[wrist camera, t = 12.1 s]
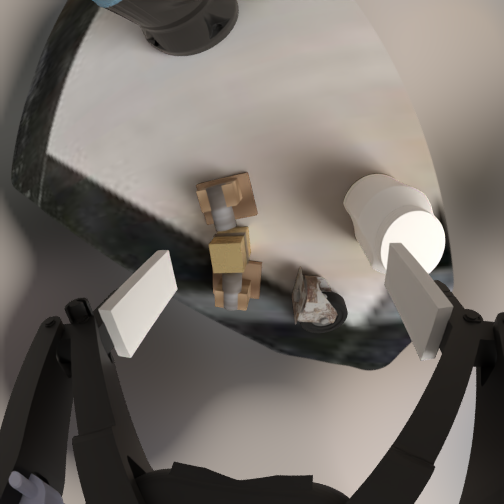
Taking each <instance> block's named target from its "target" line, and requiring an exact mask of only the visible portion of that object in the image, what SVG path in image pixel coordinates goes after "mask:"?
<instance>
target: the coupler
mask: <svg viewBox="0 0 504 504" xmlns="http://www.w3.org/2000/svg"><path fill="white" fill-rule="evenodd" d="M209 249H210V255H211V261H212V267H213V273H244V271H245V268H246V265H247V264H248V262H249V257H250V254H251V249H250V239H249V230H248V227H234V228H232V229H229V230H225V231H218V233H217V234H215V235H214V238H213V239H212V241H211V242H210V243H209Z"/></svg>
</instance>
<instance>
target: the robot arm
mask: <svg viewBox="0 0 504 504" xmlns="http://www.w3.org/2000/svg"><path fill="white" fill-rule="evenodd" d="M92 1H94V2H96V4H97V5H99V6H100V7H103V8H105V9H108V10H110V11H112V12H114V13H116V14H118V15H120V16H122V17H124V18H126V19H128V20H130V21H132V22H134V23H136V24H138V25H140V27H141V29H142V31H143V33H144V35H145V37H146V39H147V40H148V42H149V43H150V44H151V45H152V46H154V47H155V48H157V49H158V50H160V51H162V52H164V53H166V54H170V55H174V56H188V55H194V54H197V53H201V52H203V51H206V50H208V49H210V48H212V47H213V46H215V45H217V44H218V43H219V42H221V41H222V40H223V39H224V38H225V37H226V36H227V35H228V34H229V33H230V31H231V30H232V29H233V27H234V25H235V23H236V21H237V18H238V11H239V9H238V3H237V0H92ZM385 287H386V289H387V291H388V293H389V295H390V297H391V299H392V301H393V303H394V305H395V307H396V309H397V311H398V313H399V315H400V317H401V319H402V321H403V323H404V325H405V327H406V329H407V331H408V333H409V336H410V338H411V340H412V342H413V344H414V347H415V349H416V351H417V354H418V356H419V358H420V360H421V361H422V360H428V359H433V358H435V357H436V355H437V352H438V349H439V348H440V350H441V352H442V355H441V358H440V360H439V362H438V364H437V367H436V369H435V371H434V373H433V375H432V377H431V380H430V381H429V384H428V385H427V387H426V389H425V391H424V393H423V395H422V397H421V399H420V401H419V403H418V404H417V406H416V408H415V410H414V411H413V413H412V415H411V416H410V418H409V420H408V422H407V423H406V425H405V426H404V428H403V430H402V431H401V433H400V434H399V436H398V437H397V439H396V440H395V442H394V443H393V445H392V446H391V448H390V449H389V450H388V452H387V453H386V454H385V456H384V457H383V459H382V460H381V461H380V463H379V464H378V465H377V467H376V468H375V469H374V470H373V472H372V473H371V474H370V476H369V477H368V478H367V479H366V480H365V482H364V483H363V484H362V485H361V486H360V487H359V489H358V490H357V491H356V492H355V493H354V494H353V495H352V497H351V498H350V499H349V498H348V497H347V496H346V495H344V494H343V493H341V492H340V491H338V490H336V489H333V488H331V487H329V486H326V485H323V484H319V483H314V482H312V481H313V475H306V476H283V475H282V476H281V475H280V476H279V475H276V476H270V477H263V478H256V479H249V480H236V479H233V478H230V477H227V476H224V475H221V474H219V473H217V472H214V471H211V470H209V469H207V468H203V467H197V466H192V465H187V464H182V463H178V462H174V463H173V466H172V468H171V469H161V470H155V471H154V470H153V469H152V468H151V466H150V464H149V462H148V461H147V458H146V456H145V453H144V451H143V449H142V446H141V444H140V441H139V438H138V436H137V433H136V430H135V428H134V425H133V422H132V420H131V416H130V414H129V411H128V408H127V405H126V401H125V398H124V395H123V392H122V388H121V385H120V381H119V378H118V374H117V371H116V366H115V362H114V358H113V356H112V354H111V352H110V351H111V350H112V349H113V347H115V349H116V351H117V353H118V355H119V356H123V357H129V358H131V357H132V355H133V354H134V352H135V351H136V349H137V348H138V346H139V345H140V343H141V342H142V340H143V339H144V337H145V336H146V334H147V333H148V331H149V330H150V328H151V327H152V325H153V324H154V322H155V321H156V319H157V318H158V316H159V315H160V313H161V312H162V310H163V309H164V308H165V306H166V305H167V303H168V302H169V300H170V299H171V298H172V296H173V295H174V293H175V292H176V290H177V286H176V281H175V277H174V273H173V268H172V264H171V259H170V255H169V250H159V251H157V252H156V253H155V254H154V255H153V256H151V257H150V258H149V259H148V260H147V261H146V262H145V263H144V264H143V265H142V266H141V267H140V268H139V269H138V270H137V271H136V272H135V273H134V274H133V275H132V276H131V277H130V278H129V279H128V280H127V281H126V282H125V283H124V284H123V285H122V286H121V287H120V288H118V289H116V290H115V291H113V292H112V293H111V294H110V295H109V296H108V298H106V299H105V300H104V302H102V303H101V304H100V305H99V306H98V307H97V308H96V309H95V310H94V311H92V309H91V306H90V304H89V301H88V299H86V298H78V299H75V300H73V301H71V302H69V303H68V304H67V305H66V306H65V311H66V314H67V316H68V318H69V320H70V323H71V324H63V323H62V321H61V319H60V317H58V316H53V317H49V318H47V319H46V320H45V321H44V322H43V323H42V324H41V326H40V327H39V329H38V332H37V334H36V336H35V338H34V340H33V342H32V344H31V346H30V349H29V351H28V353H27V355H26V358H25V360H24V363H23V365H22V367H21V370H20V372H19V375H18V377H17V380H16V382H15V385H14V388H13V391H12V394H11V396H10V400H9V402H8V405H7V409H6V412H5V416H4V419H3V422H2V426H1V429H0V504H64V503H63V499H62V494H63V489H64V483H65V469H66V468H65V467H66V452H67V451H66V450H67V441H68V431H69V424H70V416H71V408H72V403H73V397H74V404H75V412H76V419H77V427H78V434H79V435H78V436H74V437H73V438H72V445H73V451H74V456H75V461H76V466H77V471H78V475H79V479H80V483H81V487H82V491H83V494H84V498H85V501H86V504H414V503H415V501H416V500H417V498H418V497H419V495H420V494H421V492H422V491H423V489H424V487H425V486H426V484H427V482H428V481H429V479H430V477H431V475H432V473H433V471H434V468H435V466H434V462H435V460H436V458H437V456H438V454H439V452H440V451H441V449H442V446H443V444H444V442H445V440H446V438H447V436H448V434H449V431H450V429H451V427H452V425H453V422H454V420H455V417H456V415H457V413H458V410H459V407H460V405H461V402H462V399H463V396H464V394H465V391H466V387H467V385H468V381H469V378H470V375H471V371H472V368H473V367H476V409H475V423H474V433H473V440H472V447H471V454H470V460H469V465H468V470H467V475H466V479H465V484H464V487H463V492H462V495H461V499H460V502H459V504H504V312H502V313H499V314H498V315H497V317H496V319H495V322H488V321H483V318H482V317H481V315H480V314H479V313H477V312H475V311H473V310H469V309H464V308H463V306H462V305H461V304H460V303H459V301H458V300H457V299H456V297H455V296H454V295H453V293H452V292H450V290H449V289H448V287H447V286H446V285H445V284H443V283H442V282H440V281H439V280H434V281H433V279H432V278H431V277H430V276H429V274H428V273H427V272H426V271H425V270H424V268H423V267H422V266H421V265H420V264H419V262H418V261H417V260H416V259H415V258H414V257H413V256H412V254H411V253H410V252H409V251H408V250H407V249H406V248H405V246H404V245H403V244H402V243H389V253H388V262H387V270H386V277H385Z"/></svg>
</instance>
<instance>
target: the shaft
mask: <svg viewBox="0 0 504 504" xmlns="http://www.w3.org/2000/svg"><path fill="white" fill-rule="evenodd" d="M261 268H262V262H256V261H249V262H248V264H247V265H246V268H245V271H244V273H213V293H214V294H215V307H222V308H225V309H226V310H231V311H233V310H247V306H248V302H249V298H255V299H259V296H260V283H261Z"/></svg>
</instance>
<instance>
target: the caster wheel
mask: <svg viewBox="0 0 504 504" xmlns="http://www.w3.org/2000/svg"><path fill="white" fill-rule="evenodd" d="M292 303H293V311H294V319H295V325H296V323H297V320H298V321H299V322H300V324H301V326H302V327H303V328H304V329H305V330H307V331H309V332H313V333H324V332H329V331H332V330H334V329H336V328H338V327H339V326H341V325H342V324H343V323H344V321H345V320H346V318H347V314H348V312H347V308H346V305H345V301H344V299H343V298H342V297H341V296H340V295H339V294H337V293H334V292H331V288H330V286H329V284H328V282H327V281H326V280H325V279H324V278H322V277H319V276H307V275H303V276H302V271H301V267H300V268H299V272H298V275H297V279H296V282H295V285H294V289H293V292H292Z"/></svg>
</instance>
